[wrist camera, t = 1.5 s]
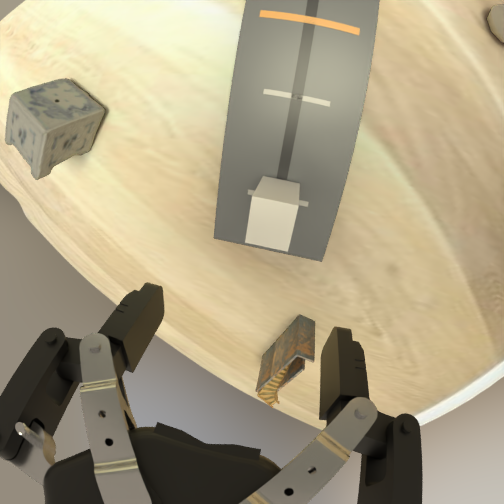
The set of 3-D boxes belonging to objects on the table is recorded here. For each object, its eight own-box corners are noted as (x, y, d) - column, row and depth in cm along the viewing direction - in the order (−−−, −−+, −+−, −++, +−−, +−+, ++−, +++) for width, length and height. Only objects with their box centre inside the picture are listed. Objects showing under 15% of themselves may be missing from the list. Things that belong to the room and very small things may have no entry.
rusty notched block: (279, 360, 44) (271, 409, 36) (263, 353, 44) (253, 402, 36) (317, 320, 38) (316, 375, 30) (299, 312, 38) (295, 367, 30)
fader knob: (291, 221, 27) (287, 251, 22) (256, 214, 27) (244, 242, 22) (299, 183, 25) (298, 205, 20) (263, 175, 25) (252, 196, 20)
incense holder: (50, 124, 29) (-3, 142, 20) (72, 76, 25) (13, 82, 16) (87, 160, 31) (32, 185, 22) (113, 109, 27) (51, 121, 18)
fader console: (320, 248, 32) (321, 262, 29) (221, 226, 33) (213, 238, 30) (374, -15, 15) (381, -25, 13) (260, -35, 16) (256, -47, 13)
